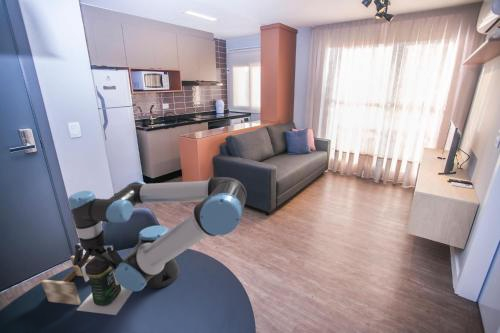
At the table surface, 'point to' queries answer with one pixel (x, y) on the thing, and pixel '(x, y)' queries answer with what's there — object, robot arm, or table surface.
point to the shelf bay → (64, 287)
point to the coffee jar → (102, 281)
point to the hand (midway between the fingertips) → (103, 280)
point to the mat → (108, 309)
